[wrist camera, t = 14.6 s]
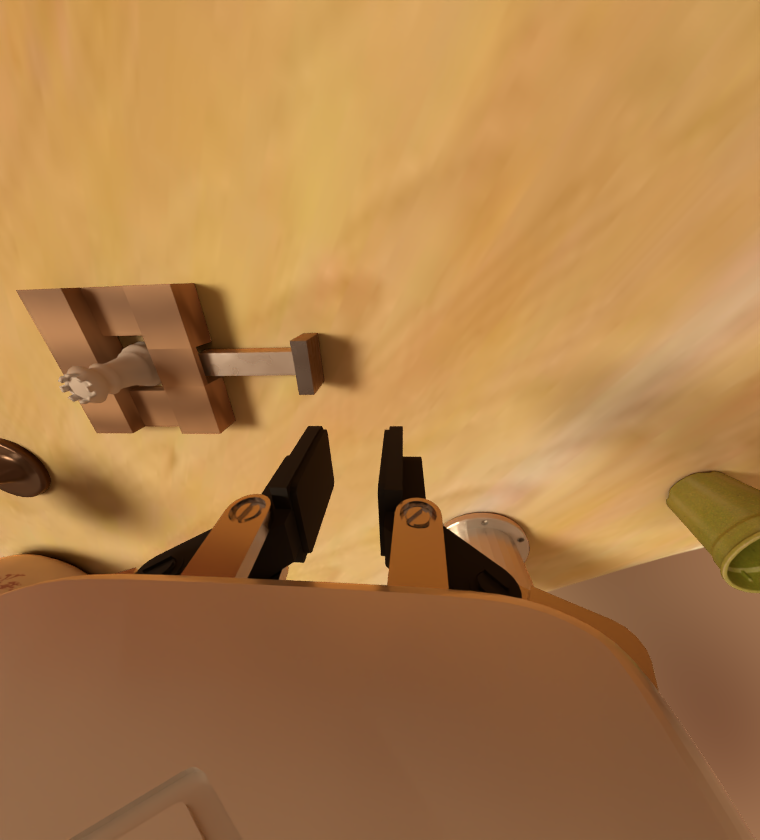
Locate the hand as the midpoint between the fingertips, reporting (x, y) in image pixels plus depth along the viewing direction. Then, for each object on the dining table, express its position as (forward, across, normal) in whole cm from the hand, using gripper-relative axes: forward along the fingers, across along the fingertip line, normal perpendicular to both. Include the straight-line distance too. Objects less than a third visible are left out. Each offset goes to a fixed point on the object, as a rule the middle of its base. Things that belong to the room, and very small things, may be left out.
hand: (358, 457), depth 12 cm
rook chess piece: (+17, +24, 0) cm, 30 cm away
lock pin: (+17, +12, 0) cm, 21 cm away
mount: (+17, +24, 0) cm, 30 cm away
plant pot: (+17, -35, +16) cm, 42 cm away
